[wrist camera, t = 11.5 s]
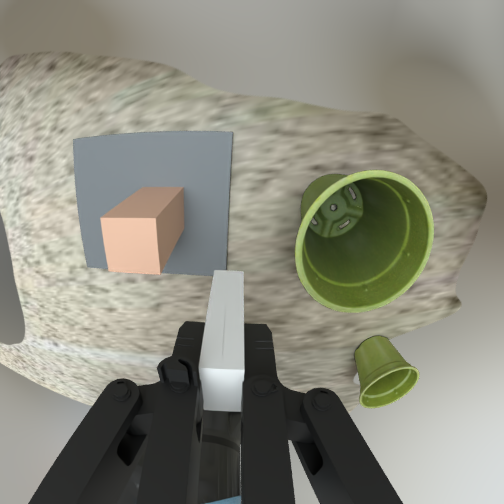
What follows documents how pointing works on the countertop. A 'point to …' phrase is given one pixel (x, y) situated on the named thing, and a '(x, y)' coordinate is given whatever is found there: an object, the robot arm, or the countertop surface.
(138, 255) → the block
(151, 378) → the countertop surface
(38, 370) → the countertop surface
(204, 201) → the mat
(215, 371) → the robot arm
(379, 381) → the plant pot
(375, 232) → the plant pot
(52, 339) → the countertop surface
